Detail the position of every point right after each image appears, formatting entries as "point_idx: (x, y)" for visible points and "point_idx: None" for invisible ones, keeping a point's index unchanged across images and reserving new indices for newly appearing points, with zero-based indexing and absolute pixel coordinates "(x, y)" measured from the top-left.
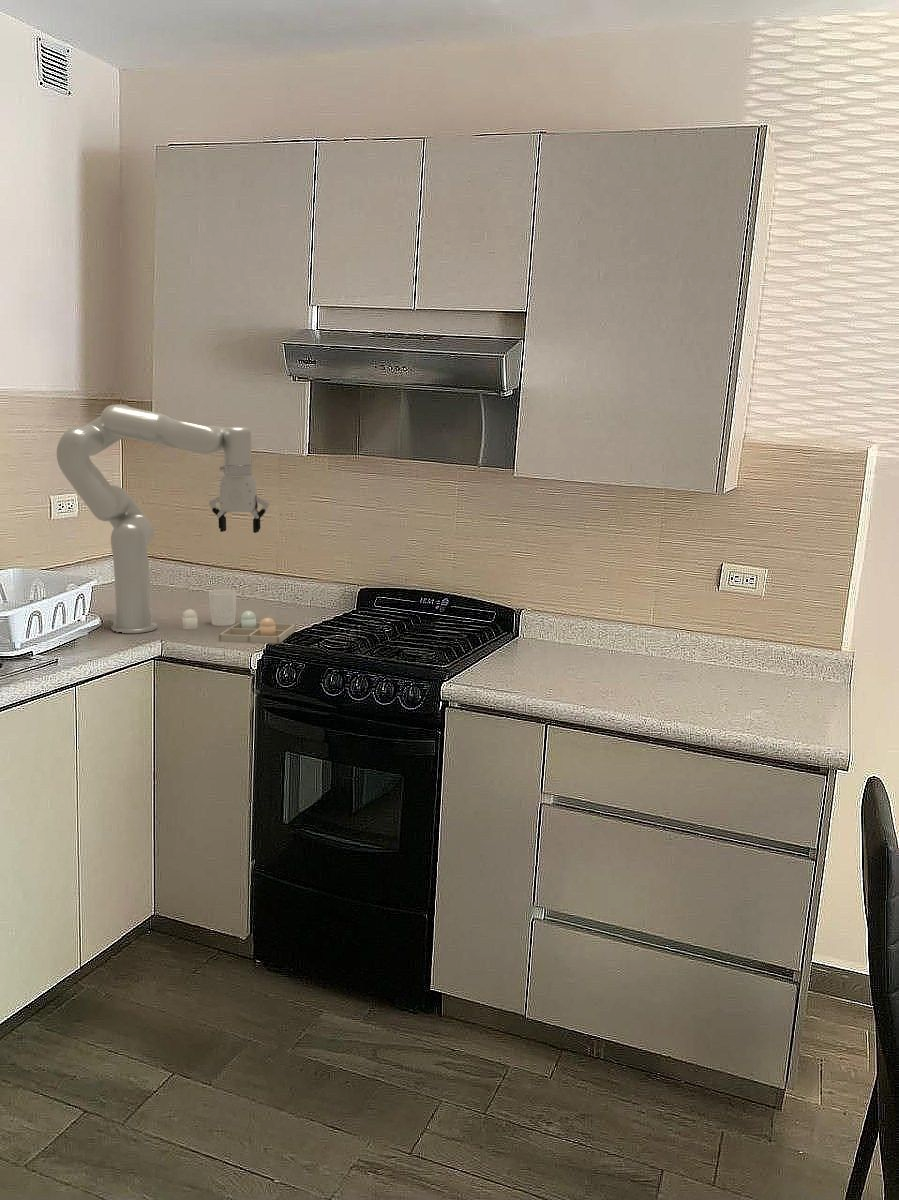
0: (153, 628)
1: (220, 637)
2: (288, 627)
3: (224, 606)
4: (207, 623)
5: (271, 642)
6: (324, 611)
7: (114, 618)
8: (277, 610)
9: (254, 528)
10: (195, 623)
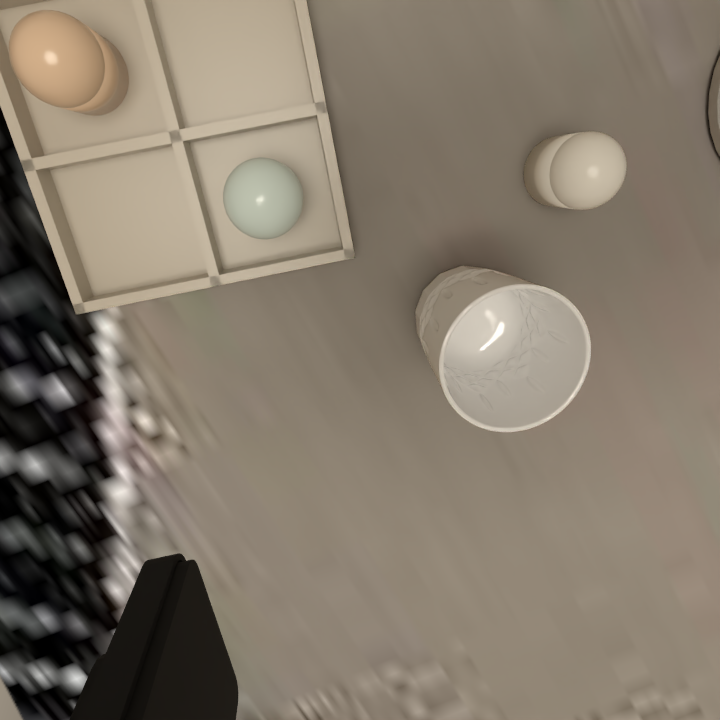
0: (714, 88)
1: None
2: (110, 294)
3: (456, 289)
4: None
5: None
6: None
7: None
8: (391, 624)
9: (143, 602)
10: (539, 162)
